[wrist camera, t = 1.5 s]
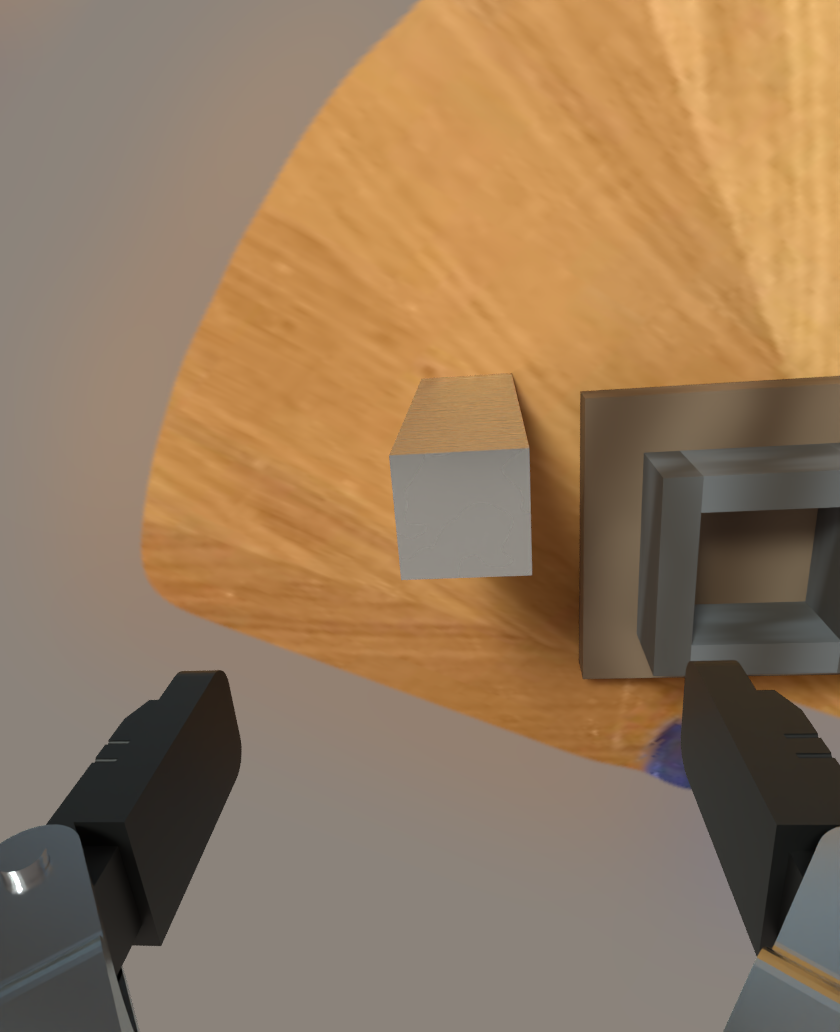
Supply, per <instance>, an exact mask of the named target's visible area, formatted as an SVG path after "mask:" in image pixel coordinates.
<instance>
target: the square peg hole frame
mask: <svg viewBox="0 0 840 1032" xmlns="http://www.w3.org/2000/svg"><path fill="white" fill-rule="evenodd" d="M715 660H736V661H738V662H739V663H740V665H741V666H742V668H743V669H744V671H745V673H746V674H747V676H778V675H834V674H840V376H832V377H815V378H799V379H782V380H765V381H749V382H732V383H715V384H699V385H682V386H665V387H649V388H632V389H615V390H598V391H582V392H581V399H580V579H579V664H580V668H581V673H582V677H583V679H613V678H668V677H685V672H686V667H687V664H688V662H689V661H715Z"/></svg>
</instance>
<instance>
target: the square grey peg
mask: <svg viewBox="0 0 840 1032" xmlns="http://www.w3.org/2000/svg"><path fill="white" fill-rule="evenodd" d="M389 458H390V468H391V479H392V489H393V499H394V510H395V520H396V530H397V540H398V551H399V561H400V571H401V580H411V579H441V578H470V577H499V576H529V575H532V545H531V499H530V453H529V444H528V440H527V436H526V432H525V428H524V423H523V419H522V415H521V411H520V407H519V402H518V398H517V394H516V390H515V386H514V382H513V377H512V373H505V374H490V375H474V376H458V377H442V378H427V379H421V381H420V384H419V386H418V388H417V391H416V393H415V395H414V398H413V400H412V403H411V405H410V407H409V410H408V412H407V414H406V417H405V419H404V422H403V424H402V426H401V429H400V431H399V433H398V436H397V438H396V441H395V443H394V445H393V448H392V450H391V452H390V455H389Z"/></svg>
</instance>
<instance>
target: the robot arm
mask: <svg viewBox="0 0 840 1032" xmlns="http://www.w3.org/2000/svg"><path fill="white" fill-rule="evenodd" d="M681 750H682V758H683V764H684V768H685V772H686V775H687V778H688V781H689V783H690V786H691V788H692V791H693V794H694V796H695V799H696V801H697V804H698V806H699V809H700V812H701V814H702V817H703V819H704V822H705V824H706V827H707V829H708V832H709V835H710V837H711V840H712V842H713V845H714V847H715V850H716V853H717V855H718V858H719V860H720V863H721V865H722V868H723V871H724V873H725V876H726V878H727V881H728V884H729V886H730V889H731V891H732V894H733V896H734V899H735V901H736V904H737V906H738V909H739V912H740V914H741V916H742V920H743V922H744V925H745V927H746V930H747V932H748V935H749V938H750V940H751V943H752V945H753V948H754V950H755V953H756V956H757V958H756V960H755V962H754V964H753V967H752V969H751V971H750V973H749V975H748V978H747V980H746V983H745V984H744V987H743V989H742V991H741V993H740V995H739V998H738V1000H737V1002H736V1004H735V1007H734V1009H733V1011H732V1013H731V1015H730V1018H729V1020H728V1022H727V1024H726V1026H725V1029H724V1031H723V1032H840V765H839V763H838V762H837V761H836V759H835V758H832V756H831V752H830V750H829V749H828V747H827V746H826V745H825V743H824V742H823V740H822V739H821V738H818V733H817V732H816V730H815V729H814V727H813V726H812V724H811V723H810V721H809V720H808V719H807V717H806V716H805V714H804V713H803V711H802V710H801V709H800V708H798V707H797V706H796V705H794V704H793V703H791V702H790V701H789V700H787V699H786V698H785V697H783V696H782V695H780V694H779V693H778V692H776V691H775V690H756V689H755V687H754V686H753V684H752V682H751V681H750V679H749V677H748V676H747V674H746V673H745V671H744V669H743V668H742V666H741V665H740V663H739V662H738V661H736V660H715V661H689V662H688V664H687V667H686V672H685V685H684V700H683V714H682V728H681ZM240 763H241V740H240V735H239V730H238V725H237V720H236V715H235V711H234V706H233V701H232V696H231V691H230V687H229V682H228V679H227V676H226V674H225V673H224V672H223V671H221V670H217V671H216V670H215V671H181V672H179V673H178V674H177V675H176V676H175V677H174V678H173V680H172V681H171V683H170V684H169V686H168V687H167V689H166V690H165V691H164V693H163V694H162V696H161V697H160V699H159V700H149V701H148V702H146V703H145V704H144V705H142V706H141V707H140V708H138V709H137V710H136V711H134V712H133V713H132V714H130V715H129V716H128V717H127V718H125V719H124V721H123V722H122V723H121V724H120V726H119V727H118V728H117V730H116V731H115V732H114V734H113V735H112V736H111V738H110V739H109V743H108V745H105V746H104V747H103V749H102V750H101V751H100V753H99V754H98V755H97V757H96V761H95V763H92V764H91V765H90V766H89V767H88V769H87V770H86V772H85V773H84V775H83V776H82V777H81V778H80V780H79V781H78V782H77V784H76V785H75V786H74V788H73V789H72V790H71V792H70V793H69V795H68V796H67V797H66V798H65V800H64V801H63V803H62V804H61V805H60V807H59V808H58V809H57V811H56V812H55V813H54V815H53V816H52V817H51V819H50V820H49V821H48V823H47V824H46V825H44V826H38V827H34V828H31V829H28V830H25V831H22V832H20V833H18V834H16V835H14V836H12V837H10V838H8V839H6V840H5V841H3V842H2V843H0V1032H140V1031H139V1027H138V1023H137V1019H136V1015H135V1011H134V1007H133V1003H132V999H131V995H130V991H129V988H128V984H127V980H126V976H125V973H124V970H123V967H122V965H123V962H124V961H125V959H126V957H127V954H128V952H129V950H130V948H131V946H132V945H143V946H145V945H146V946H161V945H162V943H163V940H164V938H165V936H166V934H167V932H168V929H169V927H170V925H171V923H172V920H173V918H174V916H175V914H176V911H177V909H178V907H179V905H180V903H181V900H182V898H183V896H184V894H185V892H186V889H187V887H188V885H189V883H190V880H191V878H192V876H193V874H194V872H195V869H196V867H197V865H198V863H199V861H200V858H201V856H202V854H203V852H204V849H205V847H206V845H207V843H208V841H209V838H210V836H211V834H212V832H213V830H214V827H215V825H216V823H217V821H218V818H219V816H220V814H221V812H222V810H223V807H224V805H225V803H226V801H227V798H228V796H229V794H230V792H231V790H232V787H233V785H234V783H235V781H236V778H237V776H238V772H239V769H240Z"/></svg>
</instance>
